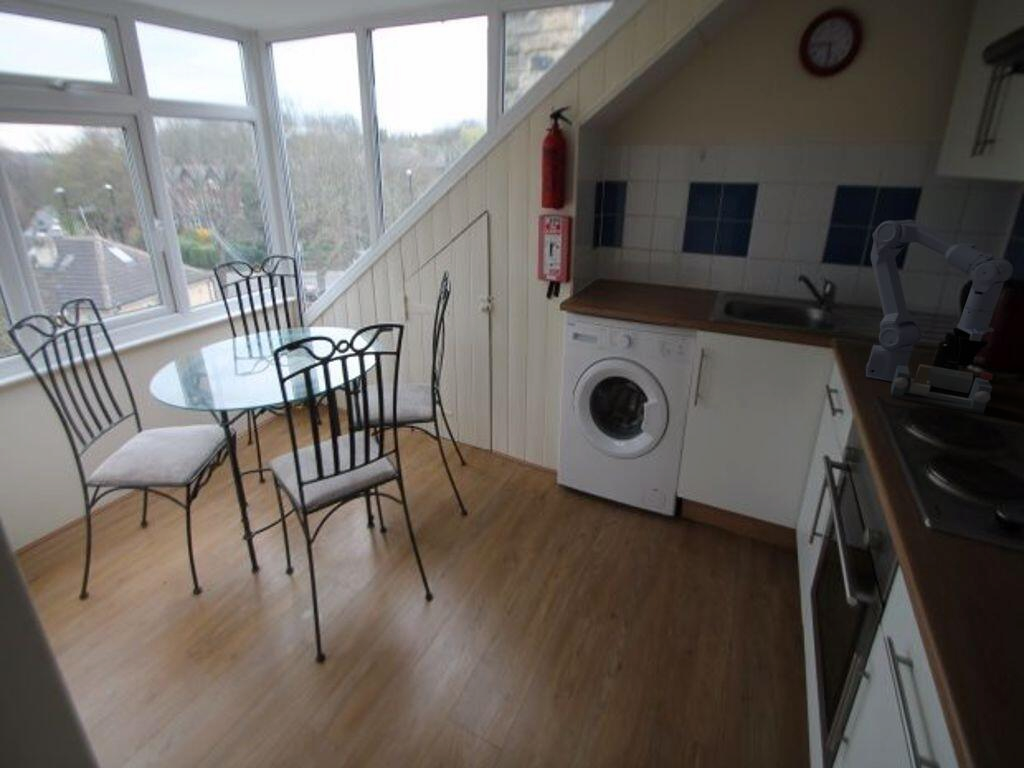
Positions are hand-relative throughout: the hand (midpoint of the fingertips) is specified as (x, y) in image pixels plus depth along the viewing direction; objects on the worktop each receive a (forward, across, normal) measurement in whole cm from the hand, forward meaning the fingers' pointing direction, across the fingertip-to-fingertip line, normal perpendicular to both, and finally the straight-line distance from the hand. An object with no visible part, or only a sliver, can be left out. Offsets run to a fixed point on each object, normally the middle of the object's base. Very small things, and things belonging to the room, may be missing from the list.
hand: (961, 360), depth 138 cm
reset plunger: (+2, -5, -5) cm, 7 cm away
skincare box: (+8, +9, -5) cm, 13 cm away
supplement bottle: (+10, +22, -1) cm, 25 cm away
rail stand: (+10, -4, +3) cm, 12 cm away
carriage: (+9, -4, +7) cm, 12 cm away
